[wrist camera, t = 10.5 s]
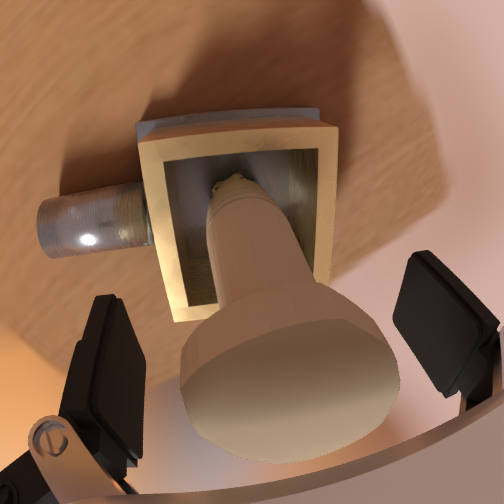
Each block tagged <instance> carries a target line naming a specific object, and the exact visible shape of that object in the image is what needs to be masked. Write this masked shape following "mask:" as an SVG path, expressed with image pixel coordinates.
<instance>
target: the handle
mask: <svg viewBox="0 0 504 504" xmlns="http://www.w3.org/2000/svg"><path fill="white" fill-rule="evenodd" d="M212 193H213V196H212V198H211V200H210V203H209V206H208V211H207V220H206V236H207V247H208V252H209V258H210V263H211V268H212V273H213V279H214V284H215V289H216V294H217V299H218V305H219V311H217V312H215V313H214V314H213V315H211V316H210V317H209V318H208V319H206V320H205V321H204V322H202V323H201V324H200V325H199V326H198V327H197V328H196V329H195V331H194V332H193V333H192V334H191V335H190V337H189V338H188V340H187V342H186V343H185V345H184V347H183V349H182V353H181V368H180V390H181V394H182V397H183V400H184V404H185V407H186V410H187V413H188V416H189V418H190V421H191V424H192V425H193V427H194V428H195V430H196V431H197V433H198V434H200V435H201V436H202V437H204V438H205V439H206V440H207V441H209V442H211V443H212V444H214V445H215V446H217V447H219V448H221V449H222V450H224V451H226V452H228V453H230V454H232V455H234V456H236V457H240V458H244V459H249V460H254V461H261V462H269V463H279V464H287V463H294V462H300V461H305V460H309V459H312V458H315V457H319V456H322V455H325V454H328V453H330V452H333V451H336V450H338V449H340V448H343V447H345V446H347V445H349V444H351V443H353V442H355V441H356V440H358V439H360V438H362V437H364V436H365V435H367V434H368V433H369V432H371V431H372V430H374V429H375V428H377V427H378V426H379V425H380V424H381V423H382V422H383V420H384V419H385V417H386V416H387V414H388V412H389V411H390V409H391V407H392V406H393V404H394V402H395V400H396V398H397V395H398V393H399V390H400V377H399V371H398V365H397V360H396V358H395V355H394V353H393V351H392V349H391V347H390V345H389V344H388V342H387V340H386V339H385V337H384V335H383V334H382V332H381V331H380V329H379V327H378V326H377V324H376V323H375V321H374V320H373V319H372V318H371V317H370V316H369V315H368V314H366V313H365V312H364V311H363V310H362V309H361V308H359V307H358V306H357V305H356V304H354V303H353V302H351V301H350V300H349V299H347V298H346V297H344V296H343V295H341V294H340V293H338V292H336V291H335V290H333V289H331V288H330V287H328V286H326V285H324V284H322V283H316V280H315V278H314V276H313V274H312V272H311V270H310V267H309V265H308V263H307V261H306V259H305V257H304V254H303V252H302V250H301V248H300V246H299V243H298V241H297V239H296V237H295V235H294V232H293V230H292V228H291V226H290V224H289V222H288V220H287V218H286V216H285V215H284V213H283V212H282V210H281V209H280V207H279V206H278V204H277V203H276V202H275V201H274V199H273V198H272V197H271V196H270V195H269V193H268V192H267V191H266V190H265V189H264V188H263V187H262V186H261V185H259V184H258V183H257V182H253V181H251V180H248V179H245V178H244V177H243V176H242V175H241V174H240V173H233V174H232V175H231V176H230V177H229V178H228V179H226V180H224V181H221V182H217V183H216V184H215V185H214V187H213V189H212Z"/></svg>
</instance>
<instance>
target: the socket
mask: <svg viewBox="0 0 504 504" xmlns="http://www.w3.org/2000/svg"><path fill="white" fill-rule="evenodd" d="M135 125H136V133H137V140H138V149H139V156H140V163H141V169H142V175H143V181H137V182H131V183H125V184H120V185H114V186H108V187H103V188H98V189H93V190H87V191H82V192H78V193H73V194H68V195H63V196H59V197H54V198H50V199H46V200H44V201H43V202H42V203H41V205H40V207H39V210H38V214H37V233H38V238H39V241H40V244H41V247H42V249H43V251H44V252H45V254H46V255H47V256H48V257H50V258H52V259H56V258H63V257H70V256H77V255H83V254H90V253H97V252H104V251H111V250H119V249H126V248H133V247H141V246H148V245H152V244H153V242H154V239H155V244H156V249H157V253H158V258H159V262H160V267H161V271H162V275H163V279H164V284H165V288H166V292H167V296H168V300H169V304H170V307H171V311H172V315H173V319H174V322H181V321H190V320H198V319H206V318H209V317H210V316H211V315H213V314H214V313H215V312H217V311H219V305H218V299H217V294H216V289H215V284H214V279H213V273H212V268H211V263H210V258H209V252H208V247H207V236H206V220H207V211H208V206H209V203H210V200H211V198H212V196H213V193H212V189H213V187H214V185H215V184H216V183H217V182H221V181H224V180H226V179H228V178H229V177H230V176H231V175H232V174H233V173H240V174H241V175H242V176H243V177H244V178H245V179H248V180H251V181H253V182H257V183H258V184H259V185H261V186H262V187H263V188H264V189H265V190H266V191H267V192H268V193H269V195H270V196H271V197H272V198H273V199H274V201H275V202H276V203H277V204H278V206H279V207H280V209H281V210H282V212H283V213H284V215H285V216H286V218H287V220H288V222H289V224H290V226H291V228H292V230H293V232H294V235H295V237H296V239H297V241H298V243H299V246H300V248H301V250H302V252H303V254H304V257H305V259H306V261H307V263H308V265H309V267H310V270H311V272H312V274H313V276H314V278H315V280H316V283H322V284H324V285H326V286H329V276H330V266H331V256H332V245H333V233H334V219H335V204H336V187H337V165H338V127H337V126H334V125H331V124H328V123H325V122H322V121H320V108H316V107H262V108H244V109H230V110H219V111H208V112H199V113H190V114H182V115H175V116H168V117H161V118H155V119H149V120H143V121H139V122H137V123H135Z"/></svg>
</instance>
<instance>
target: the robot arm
mask: <svg viewBox="0 0 504 504" xmlns="http://www.w3.org/2000/svg"><path fill="white" fill-rule="evenodd" d="M393 323H394V325H395V327H396V328H397V329H398V331H399V332H400V334H401V335H402V337H403V338H404V340H405V341H406V343H407V344H408V346H409V347H410V349H411V350H412V352H413V353H414V355H415V356H416V358H417V359H418V361H419V362H420V364H421V365H422V367H423V369H424V370H425V372H426V373H427V375H428V376H429V378H430V379H431V381H432V383H433V384H434V386H435V387H436V389H437V390H438V391H439V392H442V394H443V396H444V397H445V398H448V397H450V396H452V395H454V394H456V393H457V392H458V390H460V392H461V402H460V409H459V416H457V417H455V418H453V419H452V420H449V421H448V422H446V423H444V424H442V425H440V426H438V427H436V428H434V429H432V430H429V431H427V432H425V433H423V434H421V435H418V436H416V437H414V438H412V439H409V440H407V441H405V442H402V443H400V444H398V445H395V446H393V447H390V448H388V449H385V450H382V451H380V452H377V453H375V454H372V455H369V456H366V457H363V458H360V459H358V460H354V461H351V462H348V463H346V464H342V465H338V466H335V467H332V468H328V469H325V470H321V471H317V472H313V473H309V474H306V475H301V476H297V477H293V478H288V479H283V480H278V481H274V482H268V483H262V484H257V485H250V486H244V487H236V488H228V489H220V490H211V491H200V492H186V493H169V494H168V493H167V494H166V493H165V494H139V493H138V492H137V491H136V489H135V488H134V487H133V486H132V485H131V484H130V483H129V482H128V481H127V479H126V478H125V477H126V476H127V473H126V472H127V467H137V459H141V458H142V456H143V416H144V395H145V378H146V360H145V357H144V354H143V352H142V349H141V347H140V345H139V342H138V340H137V337H136V335H135V332H134V330H133V327H132V325H131V322H130V319H129V317H128V314H127V311H126V309H125V306H124V303H123V301H122V299H121V298H116V296H115V295H114V294H109V295H99V296H96V297H95V299H94V302H93V305H92V308H91V311H90V314H89V317H88V320H87V324H86V327H85V330H84V334H83V337H82V340H79V341H78V342H77V344H76V346H75V350H74V353H73V357H72V360H71V364H70V368H69V371H68V375H67V379H66V384H65V387H64V392H63V396H62V400H61V404H60V409H59V414H58V416H54V415H51V416H45V417H43V418H41V419H40V420H38V421H37V422H36V423H35V424H34V425H33V427H32V428H31V430H30V433H29V436H28V446H29V450H28V451H27V452H25V453H24V454H23V455H21V456H20V457H19V458H18V459H16V460H15V461H14V462H12V463H11V464H10V465H9V466H7V467H6V468H5V469H3V470H2V471H1V472H0V504H504V326H503V327H502V328H501V330H500V332H498V331H497V328H498V326H499V324H500V322H499V320H498V319H497V318H496V317H495V316H494V315H493V314H492V313H491V312H490V310H489V309H488V308H487V307H486V306H485V305H484V304H483V303H482V302H481V301H480V300H479V299H478V298H477V297H476V295H474V293H473V292H472V291H471V290H470V289H469V288H468V287H467V286H466V285H465V284H464V283H463V282H462V281H461V280H460V279H459V278H458V277H457V276H456V275H454V273H453V272H452V271H450V269H449V268H447V267H446V266H445V265H444V264H443V263H442V262H441V261H440V260H439V259H438V258H437V257H436V256H435V255H434V254H433V253H432V252H430V251H429V250H424V251H418V252H414V253H413V254H412V255H411V257H410V258H409V259H408V262H407V266H406V270H405V274H404V278H403V281H402V285H401V289H400V292H399V296H398V299H397V303H396V306H395V310H394V313H393Z"/></svg>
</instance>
